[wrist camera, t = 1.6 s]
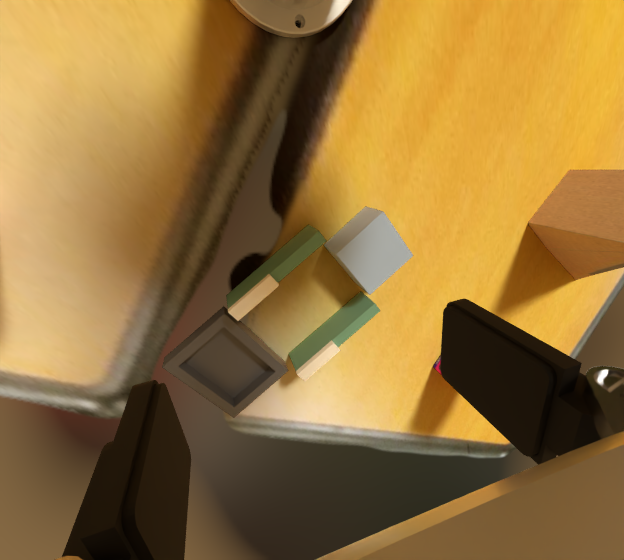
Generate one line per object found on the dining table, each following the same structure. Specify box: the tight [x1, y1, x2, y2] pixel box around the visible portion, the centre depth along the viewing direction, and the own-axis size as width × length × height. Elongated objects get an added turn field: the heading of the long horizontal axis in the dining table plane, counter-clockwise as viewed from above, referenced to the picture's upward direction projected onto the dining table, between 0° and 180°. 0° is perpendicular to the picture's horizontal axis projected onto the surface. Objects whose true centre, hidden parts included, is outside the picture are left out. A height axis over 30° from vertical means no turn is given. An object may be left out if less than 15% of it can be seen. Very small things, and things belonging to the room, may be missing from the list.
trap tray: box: [162, 307, 288, 418], centre depth 34 cm, size 8×10×2 cm
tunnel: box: [227, 225, 380, 381], centre depth 33 cm, size 11×12×4 cm
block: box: [324, 207, 413, 295], centre depth 33 cm, size 6×6×4 cm
